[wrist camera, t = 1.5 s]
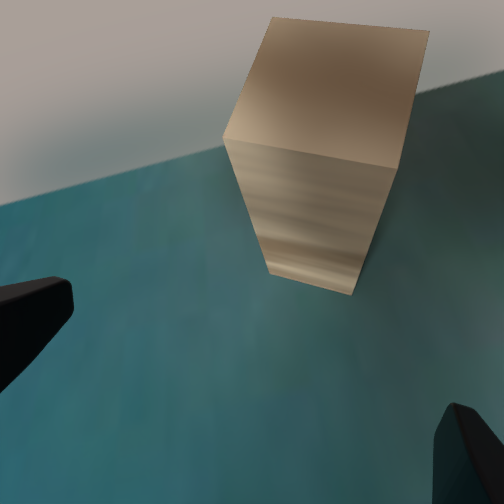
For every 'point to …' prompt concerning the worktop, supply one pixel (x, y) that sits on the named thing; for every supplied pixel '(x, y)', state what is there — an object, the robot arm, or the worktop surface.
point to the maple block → (322, 142)
